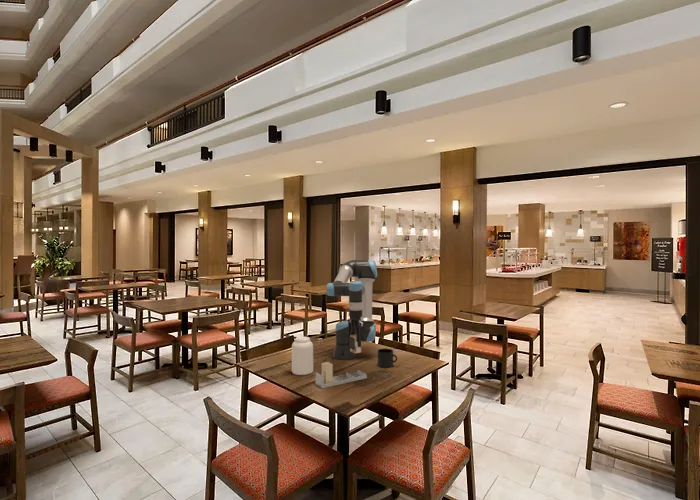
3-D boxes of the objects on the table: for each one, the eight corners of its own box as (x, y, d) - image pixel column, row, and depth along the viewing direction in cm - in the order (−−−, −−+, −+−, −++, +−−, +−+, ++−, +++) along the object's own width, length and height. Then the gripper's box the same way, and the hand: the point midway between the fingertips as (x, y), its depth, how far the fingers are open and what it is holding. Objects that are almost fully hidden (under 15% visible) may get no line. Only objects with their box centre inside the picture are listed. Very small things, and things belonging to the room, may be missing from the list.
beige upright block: (361, 352, 206) (361, 336, 206) (354, 353, 203) (354, 337, 203) (356, 350, 210) (356, 334, 210) (349, 351, 207) (349, 335, 207)
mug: (395, 369, 222) (395, 353, 222) (376, 367, 226) (376, 352, 226) (398, 364, 231) (398, 349, 231) (379, 362, 235) (379, 348, 235)
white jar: (295, 376, 209) (295, 341, 209) (288, 370, 220) (288, 336, 220) (316, 373, 215) (316, 338, 215) (308, 367, 226) (308, 334, 226)
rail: (315, 384, 198) (315, 363, 198) (359, 374, 213) (359, 355, 212) (321, 388, 192) (321, 367, 192) (366, 378, 207) (366, 358, 206)
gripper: (341, 307, 212) (341, 348, 212) (358, 312, 197) (358, 356, 197) (352, 306, 216) (352, 346, 216) (370, 311, 201) (370, 354, 201)
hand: (355, 351), depth 207 cm, fingers closed on beige upright block, 5 cm apart
